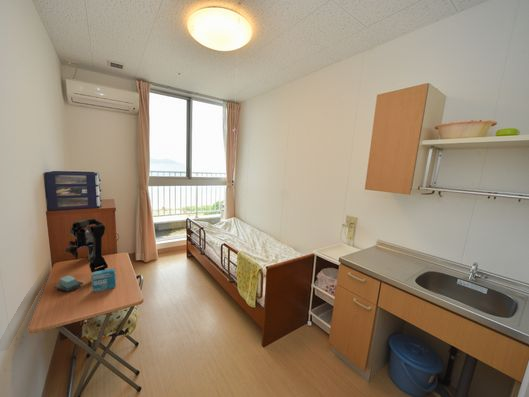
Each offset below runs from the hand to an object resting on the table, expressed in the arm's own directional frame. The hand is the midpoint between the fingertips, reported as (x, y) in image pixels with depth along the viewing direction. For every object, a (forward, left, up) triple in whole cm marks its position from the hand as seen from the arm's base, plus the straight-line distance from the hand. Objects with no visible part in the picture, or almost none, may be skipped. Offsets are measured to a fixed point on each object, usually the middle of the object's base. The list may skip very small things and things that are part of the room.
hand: (83, 257), depth 165 cm
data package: (-39, +13, -11) cm, 43 cm away
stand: (-16, +20, -11) cm, 28 cm away
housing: (-16, +20, -8) cm, 27 cm away
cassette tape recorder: (+20, -20, -11) cm, 30 cm away
